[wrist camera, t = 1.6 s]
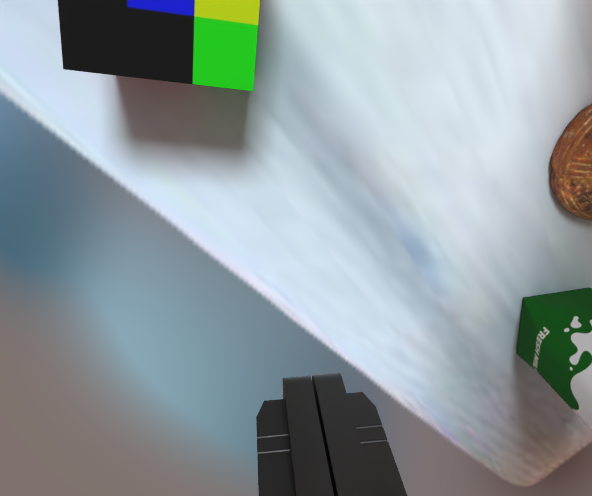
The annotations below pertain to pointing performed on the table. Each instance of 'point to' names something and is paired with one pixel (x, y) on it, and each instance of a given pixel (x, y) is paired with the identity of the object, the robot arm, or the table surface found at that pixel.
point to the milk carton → (561, 345)
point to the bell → (574, 166)
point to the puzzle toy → (163, 39)
